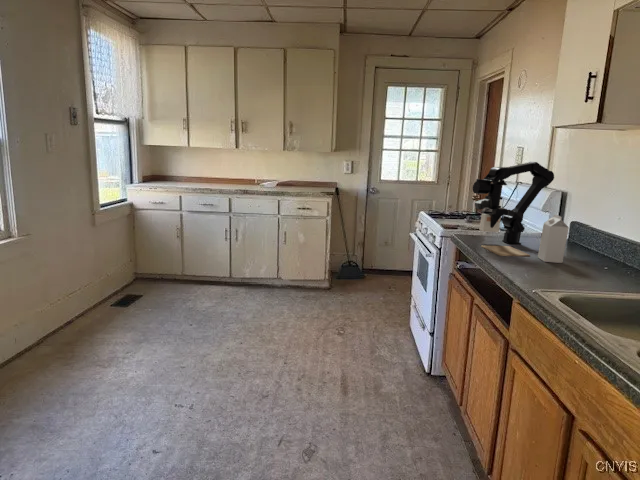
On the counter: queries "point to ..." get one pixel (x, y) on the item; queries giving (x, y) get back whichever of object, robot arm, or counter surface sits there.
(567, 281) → the counter surface
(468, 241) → the counter surface
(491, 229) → the cream box
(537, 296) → the counter surface
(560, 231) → the milk carton
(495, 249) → the mat
